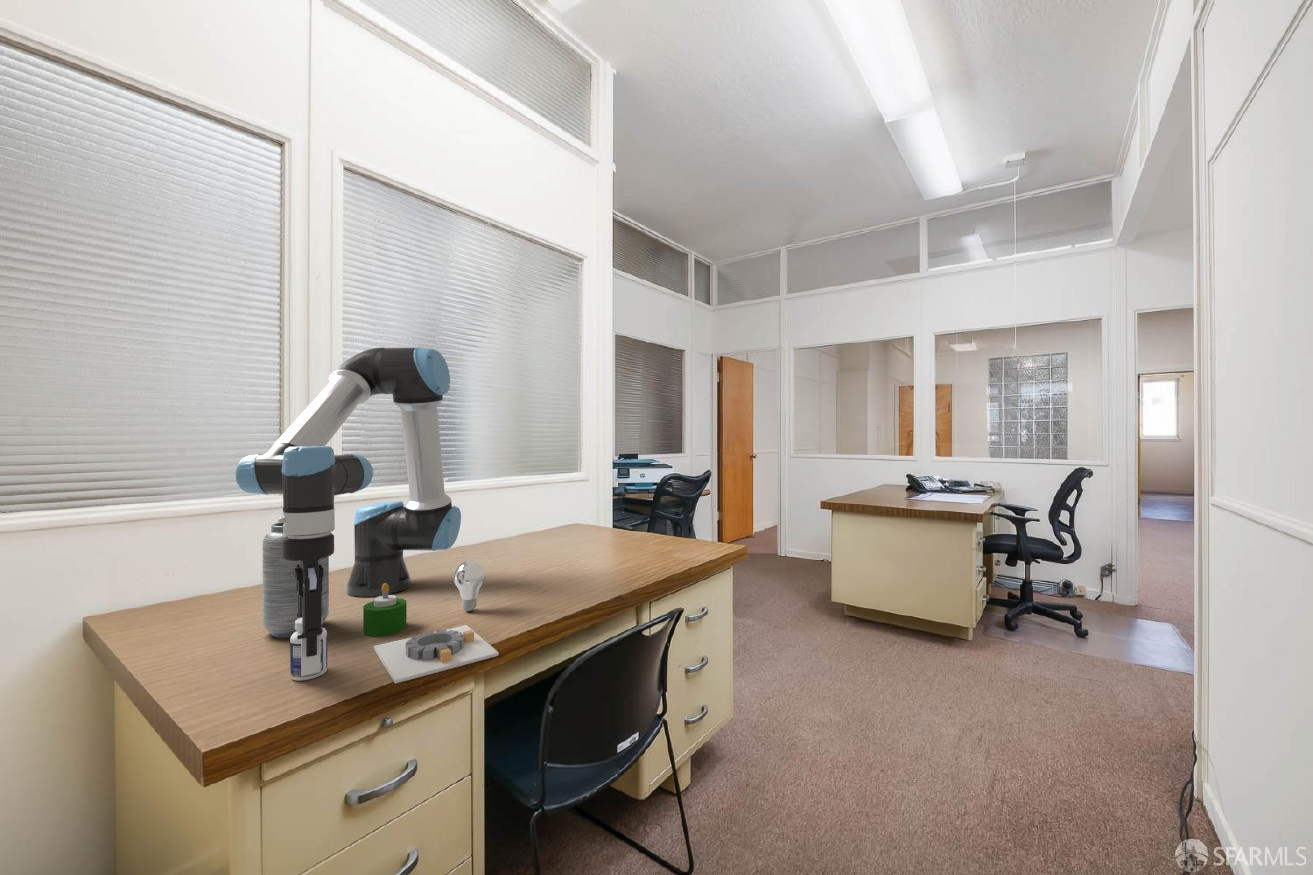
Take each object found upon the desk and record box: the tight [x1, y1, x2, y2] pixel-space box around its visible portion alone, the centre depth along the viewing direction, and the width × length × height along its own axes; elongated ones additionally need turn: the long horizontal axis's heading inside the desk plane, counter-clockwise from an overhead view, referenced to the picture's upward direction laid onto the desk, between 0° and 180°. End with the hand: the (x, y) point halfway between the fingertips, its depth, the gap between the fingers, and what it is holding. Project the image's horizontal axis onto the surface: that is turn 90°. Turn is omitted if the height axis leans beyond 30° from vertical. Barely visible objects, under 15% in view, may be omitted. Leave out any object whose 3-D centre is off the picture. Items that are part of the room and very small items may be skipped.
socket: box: [373, 624, 500, 684], centre depth 100 cm, size 18×18×2 cm
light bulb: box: [453, 560, 486, 613], centre depth 123 cm, size 7×7×12 cm
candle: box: [362, 583, 408, 638], centre depth 112 cm, size 8×8×10 cm
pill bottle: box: [289, 618, 328, 682], centre depth 91 cm, size 5×5×10 cm
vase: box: [262, 522, 330, 639], centre depth 111 cm, size 12×12×23 cm
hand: (309, 666), depth 91 cm, fingers closed on pill bottle, 5 cm apart
